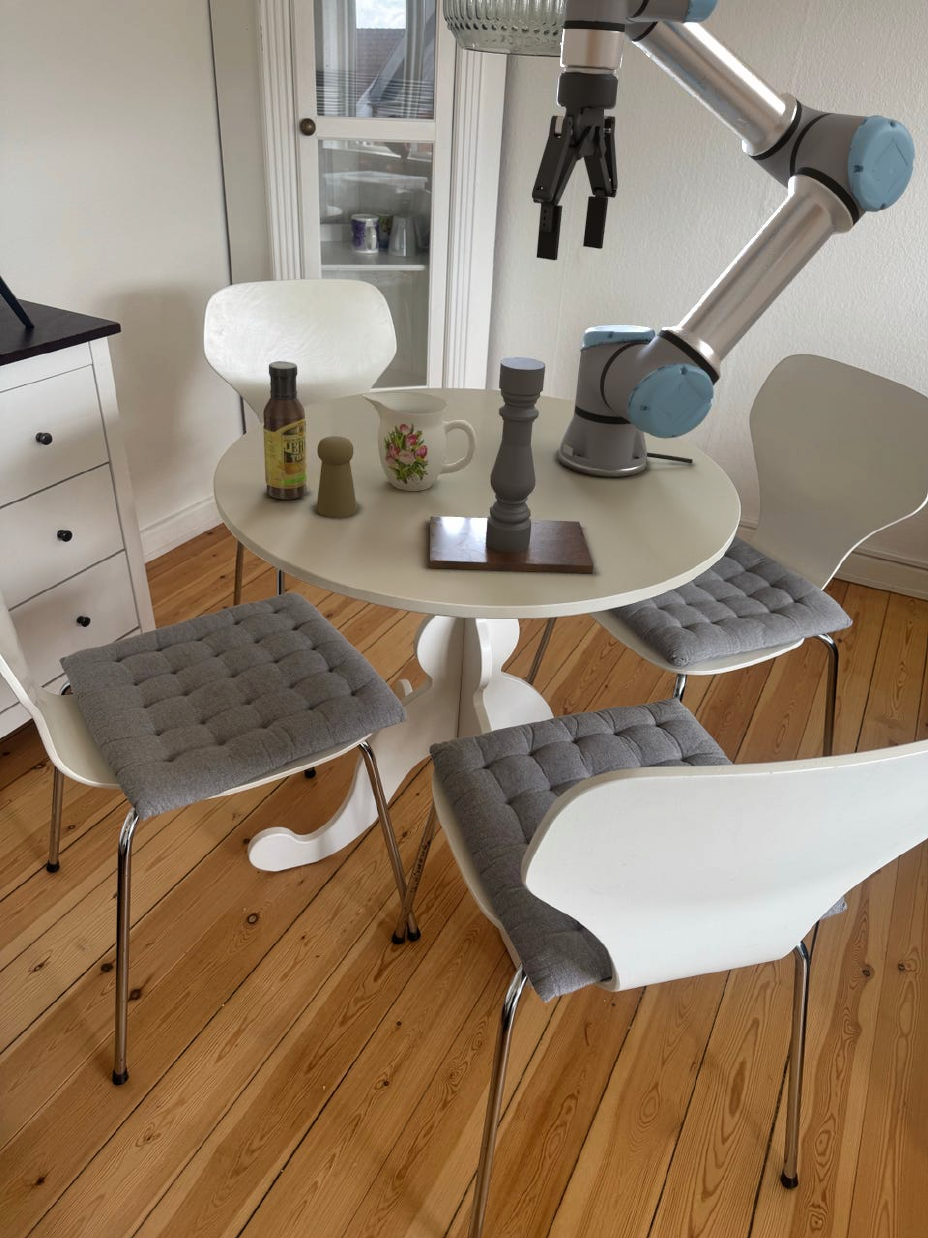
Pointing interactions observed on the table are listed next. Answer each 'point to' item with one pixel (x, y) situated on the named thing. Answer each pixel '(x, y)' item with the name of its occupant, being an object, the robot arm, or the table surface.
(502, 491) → the candle holder
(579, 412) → the robot arm
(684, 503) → the table surface
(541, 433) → the table surface
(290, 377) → the sauce bottle
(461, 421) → the pitcher
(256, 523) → the table surface
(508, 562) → the walnut board
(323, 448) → the olive pepper mill
